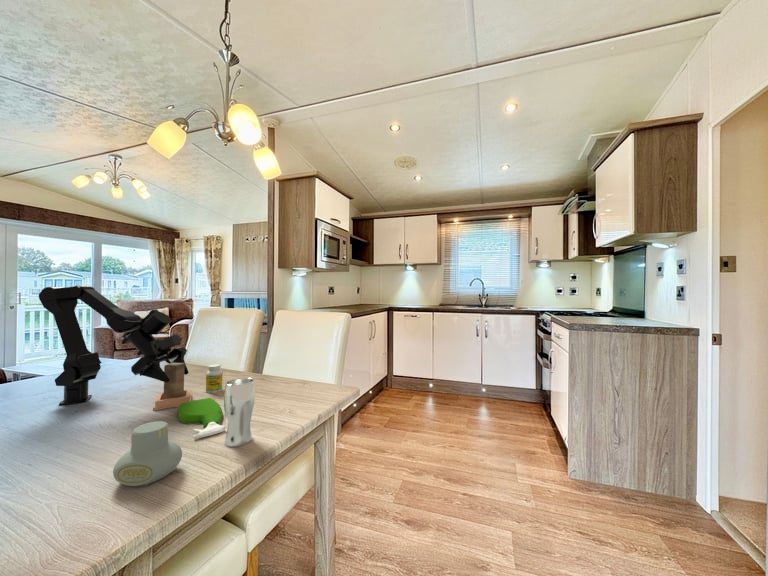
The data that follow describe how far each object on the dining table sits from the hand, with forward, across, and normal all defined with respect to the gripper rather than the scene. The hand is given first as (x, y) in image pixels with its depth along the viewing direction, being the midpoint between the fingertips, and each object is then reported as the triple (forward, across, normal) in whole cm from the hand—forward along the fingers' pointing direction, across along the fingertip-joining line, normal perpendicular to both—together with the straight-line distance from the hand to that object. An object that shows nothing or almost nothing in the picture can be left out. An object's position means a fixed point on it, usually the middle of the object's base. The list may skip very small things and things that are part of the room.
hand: (178, 377), depth 100 cm
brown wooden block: (+4, 0, +6) cm, 8 cm away
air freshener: (+21, -40, -9) cm, 46 cm away
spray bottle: (+18, -14, -5) cm, 23 cm away
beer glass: (+29, -25, -17) cm, 42 cm away
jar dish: (+5, 0, +7) cm, 8 cm away
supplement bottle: (+10, +12, +2) cm, 16 cm away
